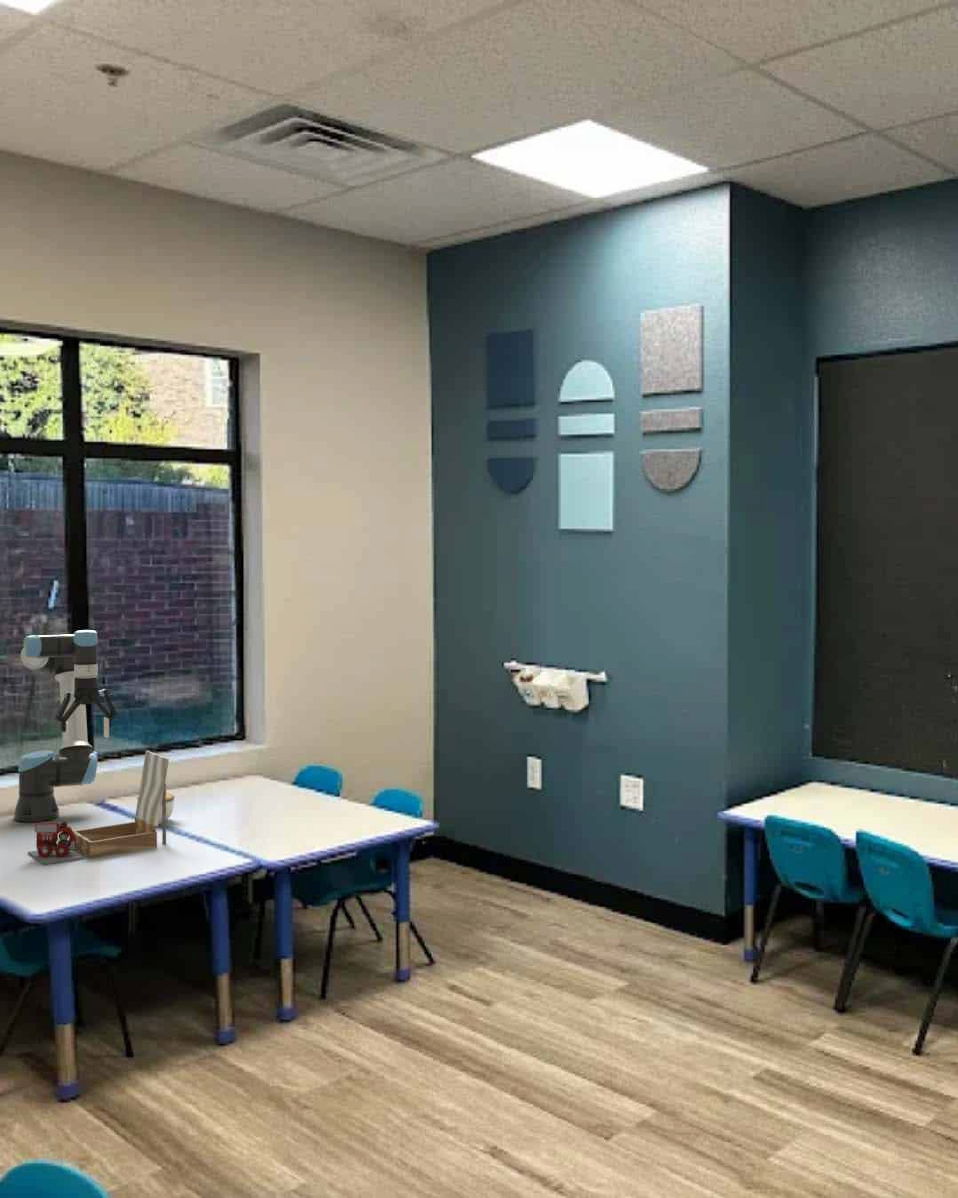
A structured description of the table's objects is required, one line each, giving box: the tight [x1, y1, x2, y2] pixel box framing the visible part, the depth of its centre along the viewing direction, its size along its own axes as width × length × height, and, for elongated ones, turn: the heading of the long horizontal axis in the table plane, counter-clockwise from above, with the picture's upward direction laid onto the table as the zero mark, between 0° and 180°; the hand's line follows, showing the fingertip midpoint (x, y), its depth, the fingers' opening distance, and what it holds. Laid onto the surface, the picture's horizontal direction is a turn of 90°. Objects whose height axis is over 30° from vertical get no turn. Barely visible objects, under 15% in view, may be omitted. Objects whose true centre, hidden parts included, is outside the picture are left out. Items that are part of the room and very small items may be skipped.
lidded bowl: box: [136, 792, 175, 825], centre depth 410 cm, size 13×13×11 cm
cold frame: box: [73, 750, 170, 859], centre depth 378 cm, size 17×26×29 cm, turn 129°
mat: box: [27, 849, 84, 866], centre depth 365 cm, size 16×12×1 cm
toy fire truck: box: [34, 820, 77, 857], centre depth 365 cm, size 7×12×10 cm, turn 99°
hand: (86, 739), depth 389 cm, fingers open, 13 cm apart
